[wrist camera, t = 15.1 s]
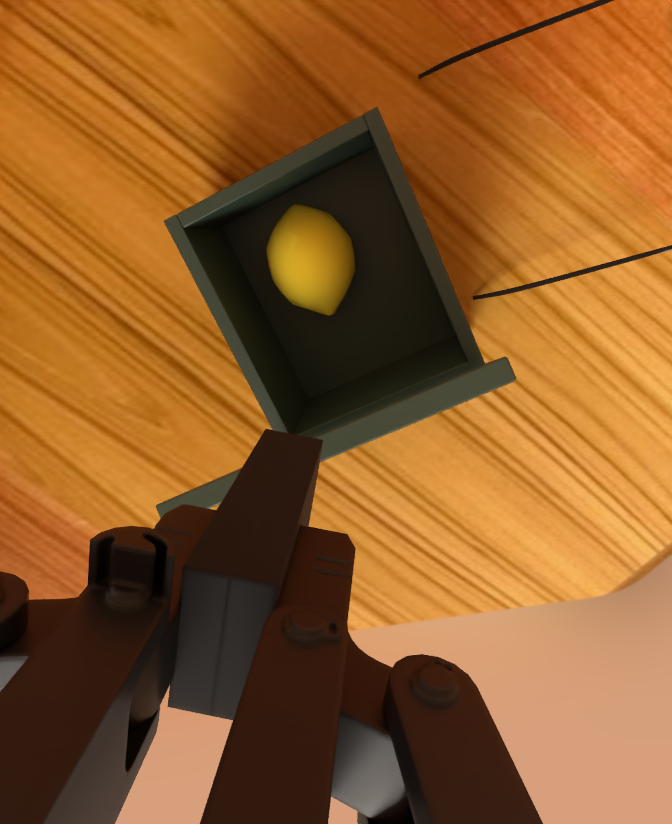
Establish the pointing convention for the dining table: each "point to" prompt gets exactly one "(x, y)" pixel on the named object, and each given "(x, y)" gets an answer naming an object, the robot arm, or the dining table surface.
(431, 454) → the dining table surface
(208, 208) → the chest
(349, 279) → the lemon
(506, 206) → the dining table surface
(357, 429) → the lid
